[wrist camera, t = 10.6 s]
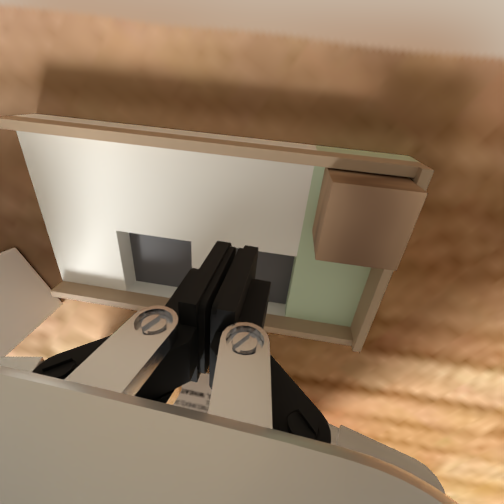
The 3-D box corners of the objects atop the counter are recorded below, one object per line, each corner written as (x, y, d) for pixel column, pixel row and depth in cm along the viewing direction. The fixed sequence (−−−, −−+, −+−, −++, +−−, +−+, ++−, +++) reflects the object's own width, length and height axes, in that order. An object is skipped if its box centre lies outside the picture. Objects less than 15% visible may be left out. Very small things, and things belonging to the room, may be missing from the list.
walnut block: (401, 172, 17) (427, 193, 13) (378, 238, 19) (396, 270, 16) (325, 164, 17) (332, 182, 14) (312, 230, 20) (315, 259, 16)
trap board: (408, 155, 18) (434, 170, 15) (351, 316, 25) (360, 352, 22) (35, 113, 20) (-19, 117, 17) (79, 273, 27) (47, 300, 24)
